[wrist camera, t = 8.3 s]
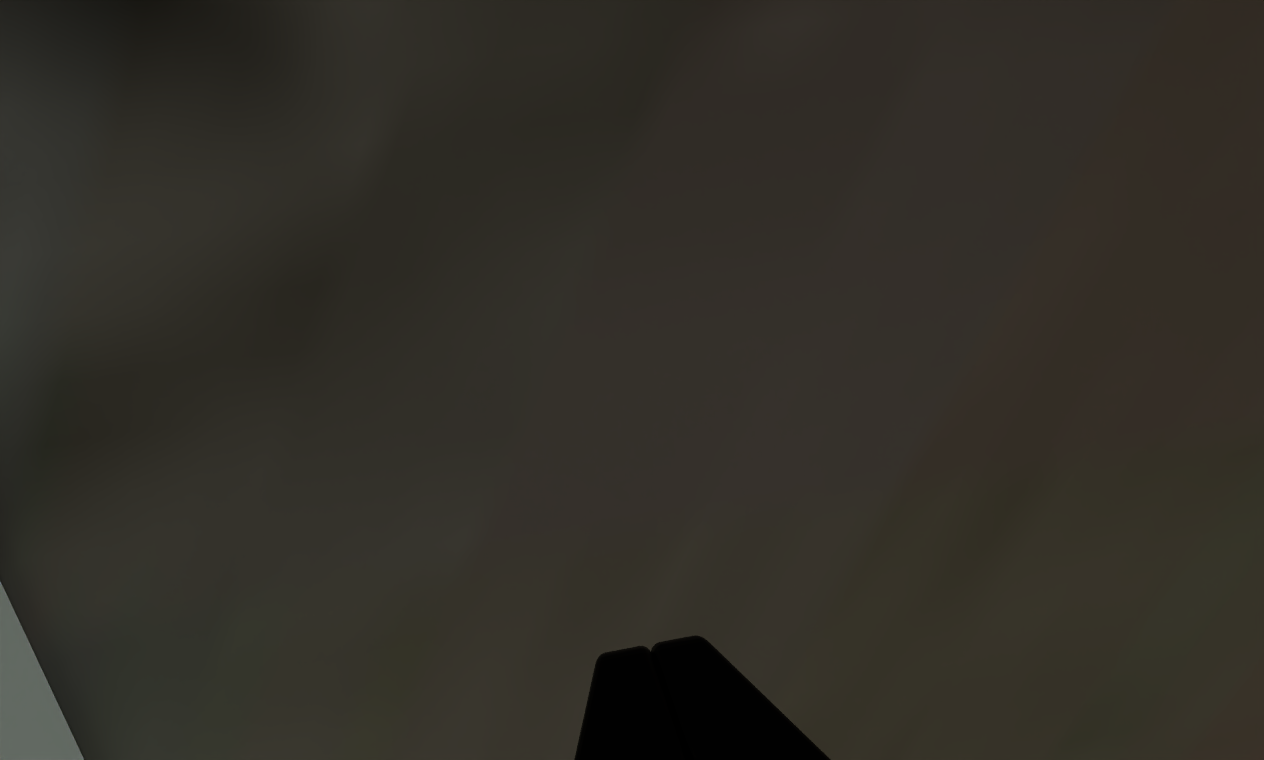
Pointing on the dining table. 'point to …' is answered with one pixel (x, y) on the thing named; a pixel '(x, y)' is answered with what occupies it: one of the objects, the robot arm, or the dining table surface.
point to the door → (28, 700)
